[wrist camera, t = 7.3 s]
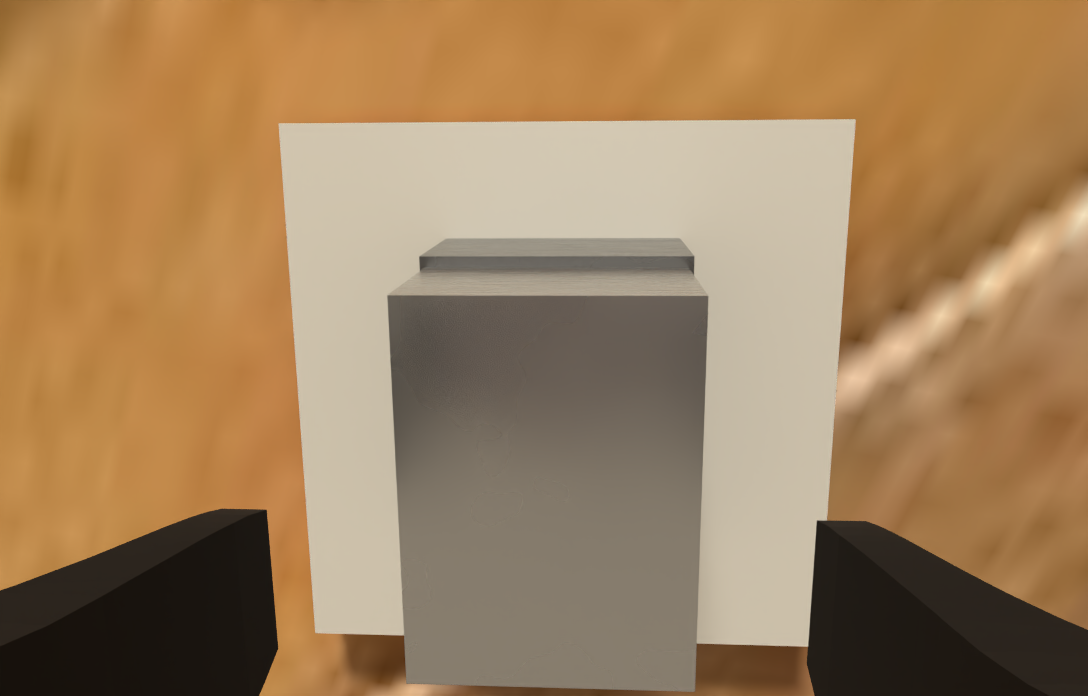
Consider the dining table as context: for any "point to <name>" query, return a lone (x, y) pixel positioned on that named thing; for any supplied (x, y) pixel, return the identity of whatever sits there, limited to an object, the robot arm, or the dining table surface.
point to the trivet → (580, 212)
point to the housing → (550, 462)
